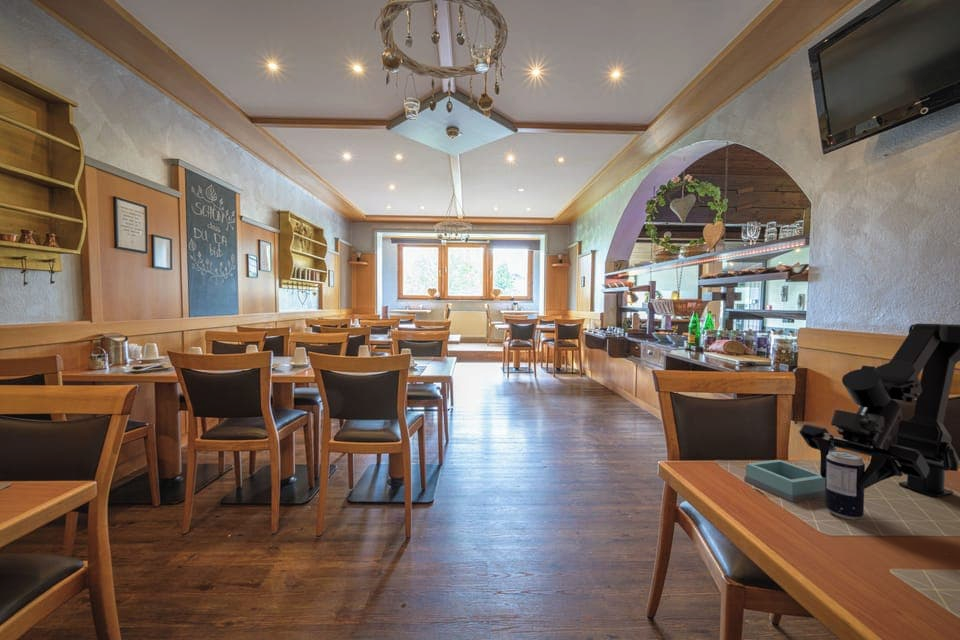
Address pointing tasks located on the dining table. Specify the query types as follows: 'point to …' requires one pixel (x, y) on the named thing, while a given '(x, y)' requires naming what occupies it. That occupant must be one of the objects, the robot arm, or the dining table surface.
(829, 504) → the beverage can
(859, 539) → the dining table surface
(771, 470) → the can dock
